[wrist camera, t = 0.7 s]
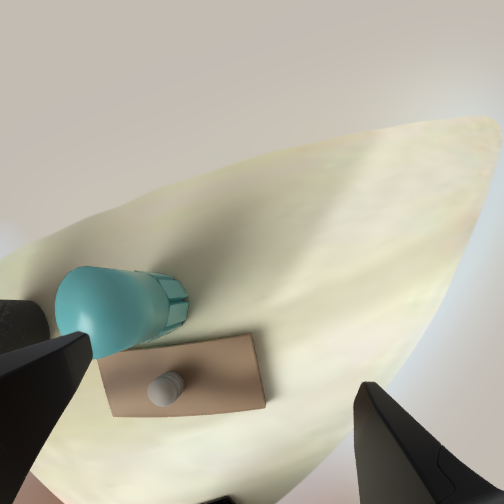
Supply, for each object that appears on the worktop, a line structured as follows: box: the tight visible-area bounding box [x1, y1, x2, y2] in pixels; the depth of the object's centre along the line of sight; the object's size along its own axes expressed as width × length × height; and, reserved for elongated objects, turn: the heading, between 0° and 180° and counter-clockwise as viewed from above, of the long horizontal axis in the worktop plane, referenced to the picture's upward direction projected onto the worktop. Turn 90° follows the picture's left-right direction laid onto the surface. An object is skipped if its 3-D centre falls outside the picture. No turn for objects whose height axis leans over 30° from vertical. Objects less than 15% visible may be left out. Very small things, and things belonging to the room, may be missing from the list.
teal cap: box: [55, 266, 189, 359], centre depth 22 cm, size 6×6×12 cm
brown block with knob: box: [97, 333, 266, 417], centre depth 25 cm, size 7×16×4 cm, turn 101°
